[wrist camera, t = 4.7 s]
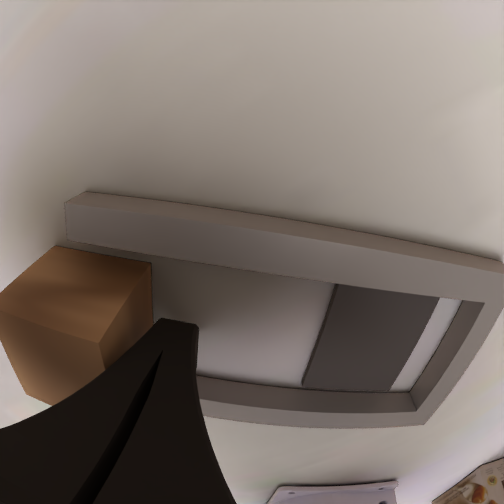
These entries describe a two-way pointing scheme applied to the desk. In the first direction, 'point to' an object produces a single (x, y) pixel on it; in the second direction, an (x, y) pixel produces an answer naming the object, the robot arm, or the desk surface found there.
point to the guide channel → (313, 268)
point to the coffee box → (478, 487)
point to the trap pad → (367, 338)
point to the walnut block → (73, 319)
